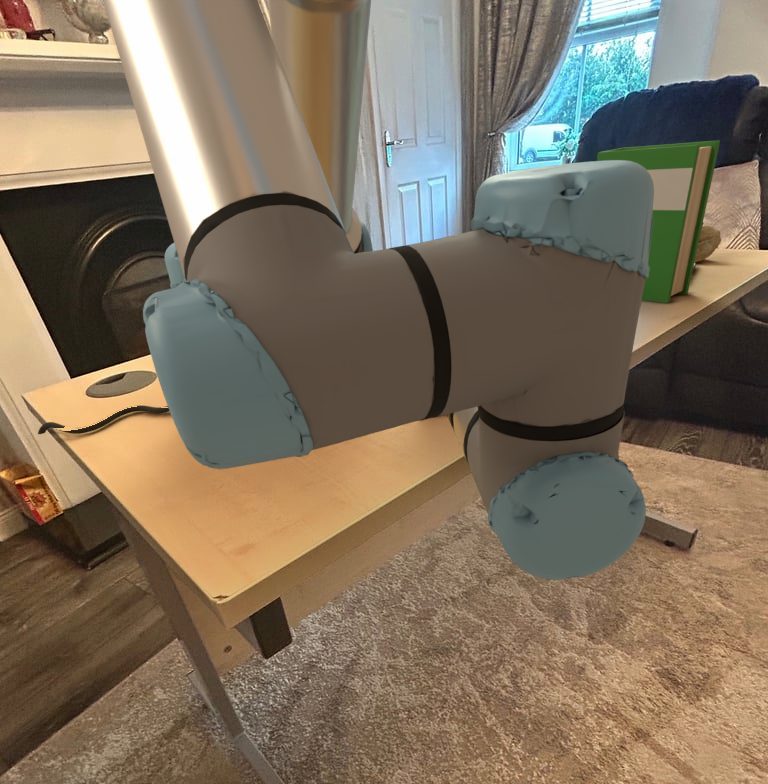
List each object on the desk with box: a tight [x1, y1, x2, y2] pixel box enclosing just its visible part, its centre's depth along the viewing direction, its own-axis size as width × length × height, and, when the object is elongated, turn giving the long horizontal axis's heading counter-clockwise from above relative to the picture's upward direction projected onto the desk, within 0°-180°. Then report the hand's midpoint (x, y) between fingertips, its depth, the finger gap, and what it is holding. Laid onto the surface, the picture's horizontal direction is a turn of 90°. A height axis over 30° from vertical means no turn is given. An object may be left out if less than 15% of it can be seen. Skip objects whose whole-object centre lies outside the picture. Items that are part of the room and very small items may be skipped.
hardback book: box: [596, 139, 721, 304], centre depth 98 cm, size 18×7×24 cm, turn 38°
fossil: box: [694, 225, 722, 263], centre depth 119 cm, size 9×4×10 cm
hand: (450, 332), depth 57 cm, fingers open, 13 cm apart
